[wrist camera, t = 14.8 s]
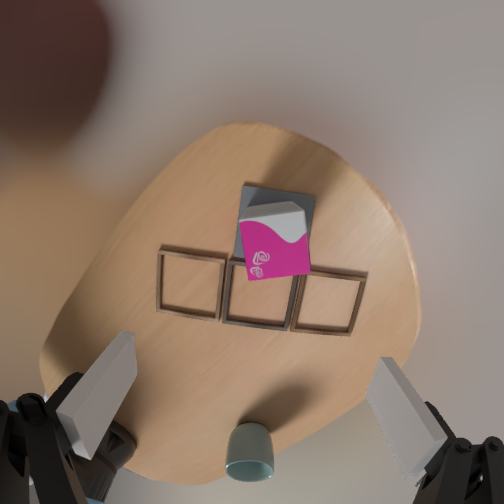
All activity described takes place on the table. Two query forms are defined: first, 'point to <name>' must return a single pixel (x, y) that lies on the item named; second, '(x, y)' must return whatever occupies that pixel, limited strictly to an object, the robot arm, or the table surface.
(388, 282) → the table surface
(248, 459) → the cup
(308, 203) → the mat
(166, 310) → the frame
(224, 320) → the frame
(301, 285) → the frame
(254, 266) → the supplement box
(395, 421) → the robot arm
